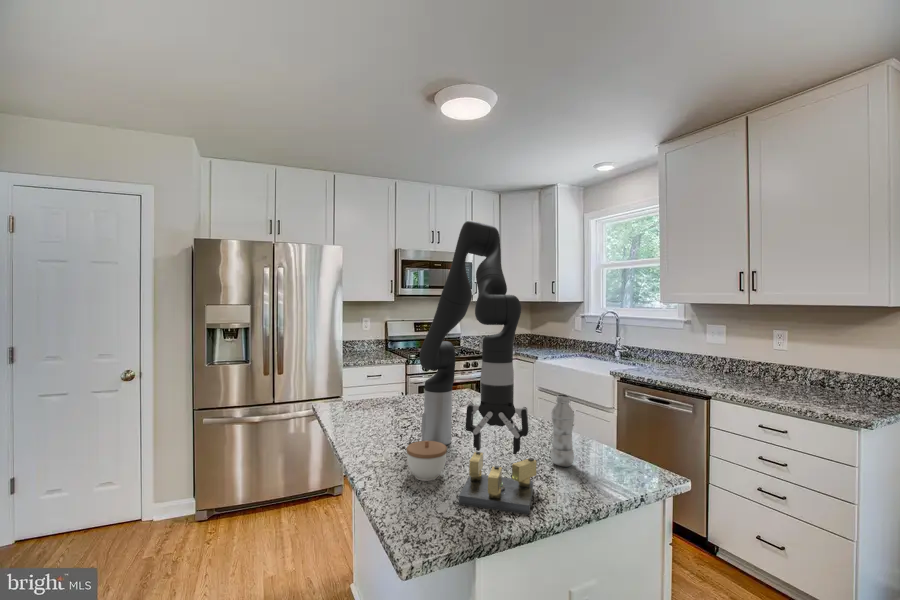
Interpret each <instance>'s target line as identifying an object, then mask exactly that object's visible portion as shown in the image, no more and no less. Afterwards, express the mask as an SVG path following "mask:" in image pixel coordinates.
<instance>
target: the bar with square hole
mask: <svg viewBox="0 0 900 600" xmlns="http://www.w3.org/2000/svg"><path fill="white" fill-rule="evenodd" d="M502 477H503V467H501V466H499V465H494V466H493V465H492V467H491V469H490V472H489V474H488V493H489V497H491V498H500V497H501V487H500V486H501V483H502Z"/></svg>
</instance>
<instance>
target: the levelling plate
mask: <svg viewBox="0 0 900 600" xmlns="http://www.w3.org/2000/svg"><path fill="white" fill-rule="evenodd" d="M488 476H489V474H488V475H487V474H486V475H485V474H482V479H481V480H478V481H475V480H472V479H471V476H468V478H467V480H466V482H465V484H464V485H463V487H462V489H461V491H460V493H459V495H458V505H461V506H467V507H468V506H469V507H475V508H482V509H490V510H495V511H496V510H497V511H503V512H510V513H517V514H523V515H530V511H531V506H532V505H531V504H532V499H533V491H534V481H533V480H530V486H528V487H522V486H520V485H519V484H518V481H516V480H513V479H512V477H511V478H510V477H503V476H502V483H501V486H500V487H501V497H500V498H491V497H489V493H488Z"/></svg>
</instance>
